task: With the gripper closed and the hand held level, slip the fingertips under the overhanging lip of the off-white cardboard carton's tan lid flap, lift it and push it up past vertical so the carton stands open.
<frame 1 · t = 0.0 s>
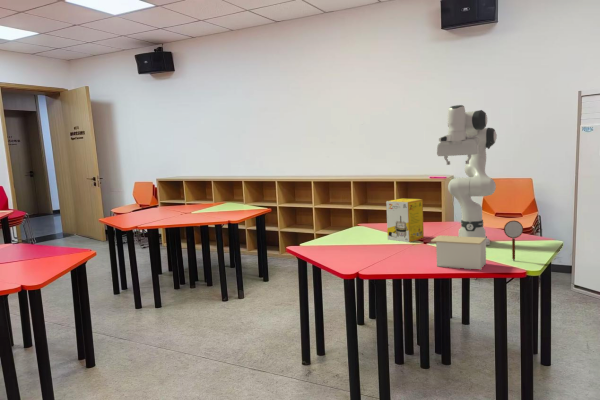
hand: (457, 164, 228), 48 cm above the table, tool pointing down, fingers open, 8 cm apart
lid flap: (458, 239, 214), point 12 cm above the table, hinge at 0.0°
magnifying glass: (513, 261, 217), on the table
carton: (461, 265, 215), on the table
packaging box: (405, 239, 285), on the table
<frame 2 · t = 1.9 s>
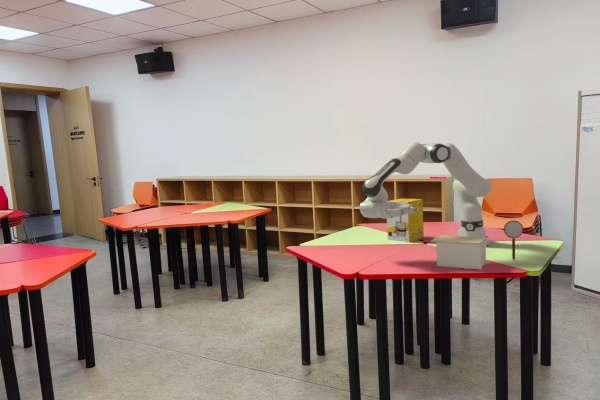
hand: (415, 210, 224), 26 cm above the table, tool horizontal, fingers open, 6 cm apart
nothing on the table moved.
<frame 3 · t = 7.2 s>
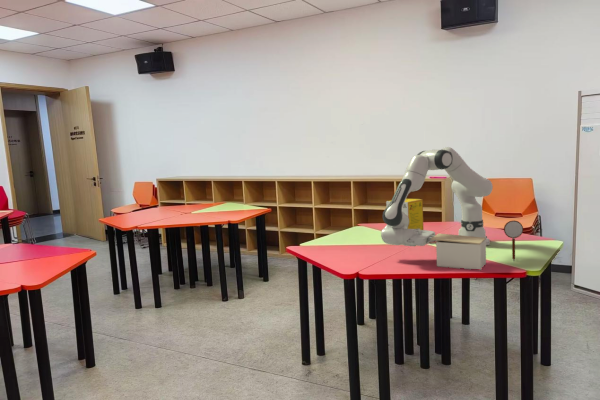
hand: (439, 239, 219), 12 cm above the table, tool horizontal, fingers closed, pressing on lid flap
lid flap: (458, 238, 214), point 13 cm above the table, hinge at 2.7°, touching gripper
everything else where it was.
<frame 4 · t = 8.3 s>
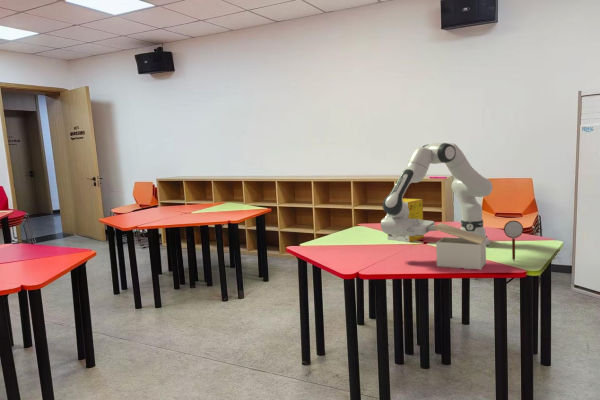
hand: (439, 228, 219), 18 cm above the table, tool horizontal, fingers closed, pressing on lid flap
lid flap: (459, 233, 213), point 16 cm above the table, hinge at 17.2°, touching gripper
everything else where it was.
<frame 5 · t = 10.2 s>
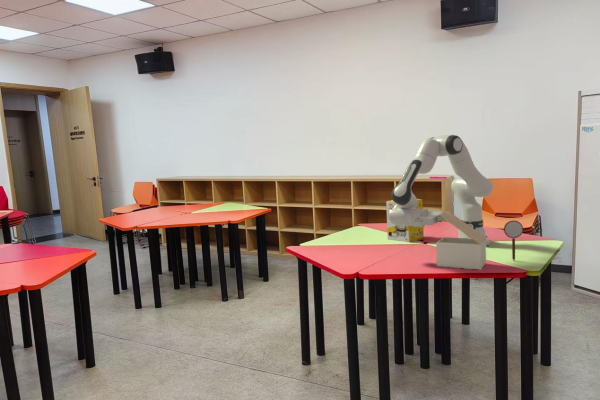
hand: (448, 218, 215), 23 cm above the table, tool horizontal, fingers closed, pressing on lid flap
lid flap: (463, 226, 212), point 19 cm above the table, hinge at 35.8°, touching gripper
everything else where it was.
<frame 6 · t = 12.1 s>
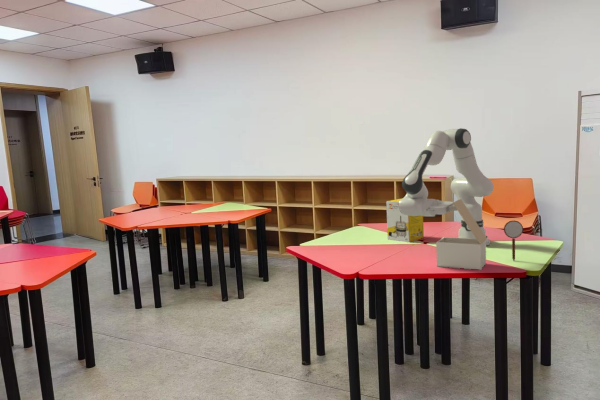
hand: (459, 208, 212), 28 cm above the table, tool horizontal, fingers closed, pressing on lid flap
lid flap: (470, 220, 210), point 22 cm above the table, hinge at 58.2°, touching gripper
everything else where it was.
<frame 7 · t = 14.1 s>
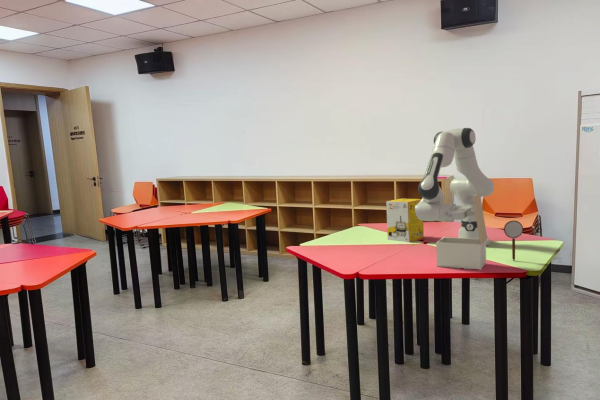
hand: (478, 213, 207), 26 cm above the table, tool horizontal, fingers closed, pressing on lid flap
lid flap: (480, 218, 207), point 23 cm above the table, hinge at 82.6°, touching gripper
everything else where it was.
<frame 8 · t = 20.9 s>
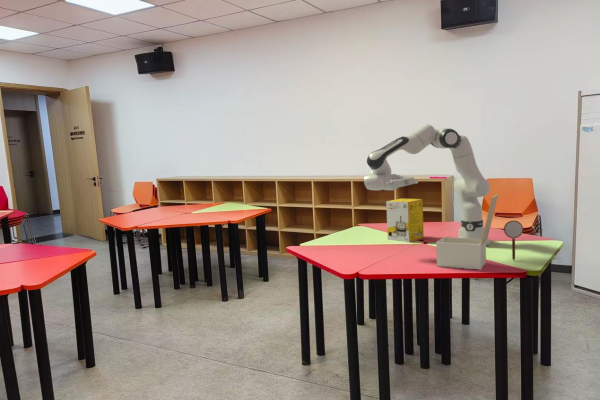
hand: (417, 181, 233), 40 cm above the table, tool horizontal, fingers closed
lid flap: (489, 219, 205), point 23 cm above the table, hinge at 103.3°
everything else where it was.
at the end: lid flap at +103° (first picture: +0°); magnifying glass moved 0.2 cm from its start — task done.
